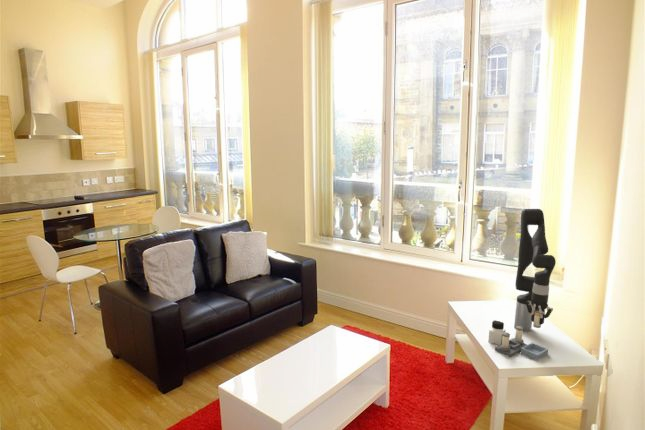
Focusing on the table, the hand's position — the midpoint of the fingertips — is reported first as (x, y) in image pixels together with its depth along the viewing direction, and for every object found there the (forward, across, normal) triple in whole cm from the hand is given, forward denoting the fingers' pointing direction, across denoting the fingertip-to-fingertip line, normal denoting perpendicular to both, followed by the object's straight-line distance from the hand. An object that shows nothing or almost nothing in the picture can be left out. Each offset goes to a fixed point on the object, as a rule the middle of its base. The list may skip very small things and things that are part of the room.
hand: (537, 322), depth 218 cm
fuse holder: (+18, +10, +5) cm, 21 cm away
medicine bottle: (+18, +20, +4) cm, 27 cm away
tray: (+18, 0, 0) cm, 18 cm away
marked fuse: (+2, 0, 0) cm, 2 cm away
